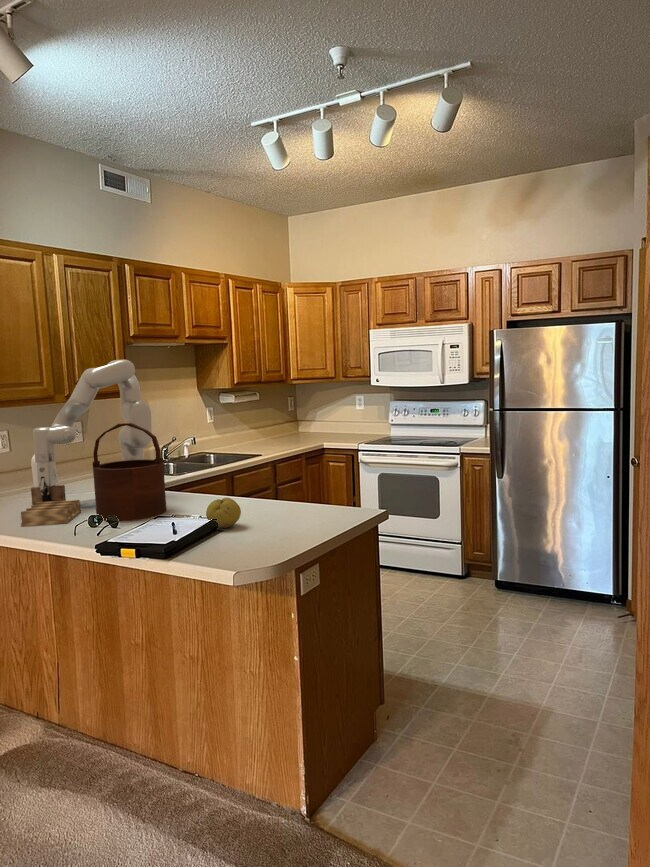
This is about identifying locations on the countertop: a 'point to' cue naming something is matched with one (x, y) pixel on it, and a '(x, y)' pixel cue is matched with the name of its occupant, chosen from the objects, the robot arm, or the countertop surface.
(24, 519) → the rack
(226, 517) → the fruit
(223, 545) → the countertop surface
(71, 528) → the countertop surface
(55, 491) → the board
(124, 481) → the wooden bucket
